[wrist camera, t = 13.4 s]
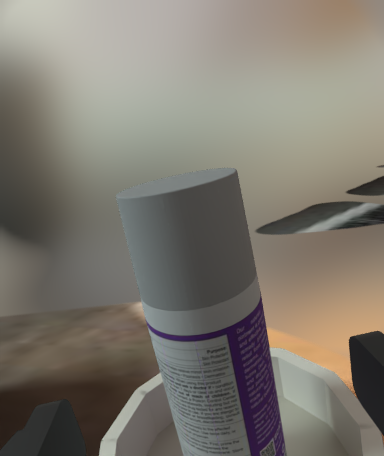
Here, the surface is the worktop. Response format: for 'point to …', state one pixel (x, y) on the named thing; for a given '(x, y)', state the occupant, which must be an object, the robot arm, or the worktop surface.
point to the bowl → (289, 411)
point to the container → (204, 311)
